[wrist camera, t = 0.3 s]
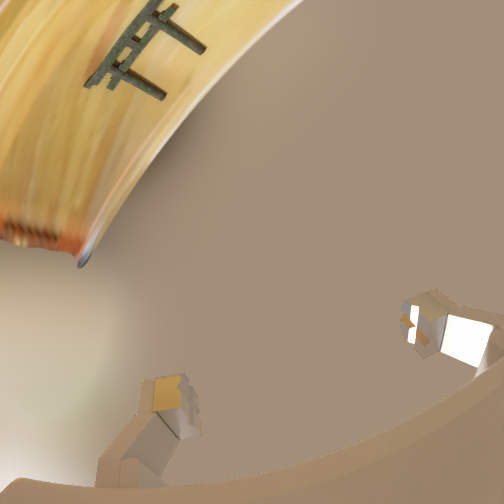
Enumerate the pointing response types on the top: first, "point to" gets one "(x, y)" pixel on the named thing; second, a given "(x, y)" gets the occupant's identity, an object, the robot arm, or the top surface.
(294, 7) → the top surface
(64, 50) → the top surface
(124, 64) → the miniature torii gate
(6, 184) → the top surface
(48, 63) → the top surface
